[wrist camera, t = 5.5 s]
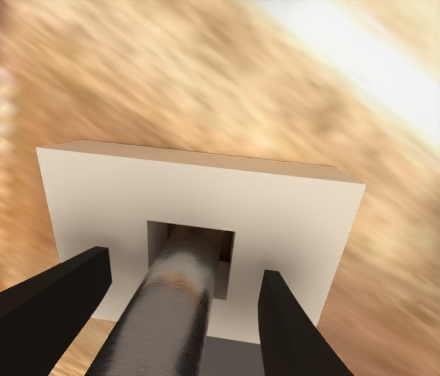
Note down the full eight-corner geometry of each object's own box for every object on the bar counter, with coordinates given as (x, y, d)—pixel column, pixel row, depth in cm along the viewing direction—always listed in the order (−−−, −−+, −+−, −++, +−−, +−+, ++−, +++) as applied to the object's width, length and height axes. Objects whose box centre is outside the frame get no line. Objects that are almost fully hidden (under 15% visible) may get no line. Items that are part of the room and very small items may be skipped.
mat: (291, 315, 15) (292, 321, 14) (271, 384, 17) (272, 389, 17) (155, 295, 15) (153, 300, 15) (156, 364, 18) (155, 369, 18)
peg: (225, 213, 12) (188, 418, 4) (221, 254, 13) (184, 487, 5) (177, 207, 13) (46, 390, 4) (176, 248, 14) (69, 461, 5)
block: (334, 166, 11) (366, 184, 8) (294, 305, 14) (307, 351, 12) (84, 139, 12) (35, 147, 9) (102, 277, 15) (71, 314, 12)
